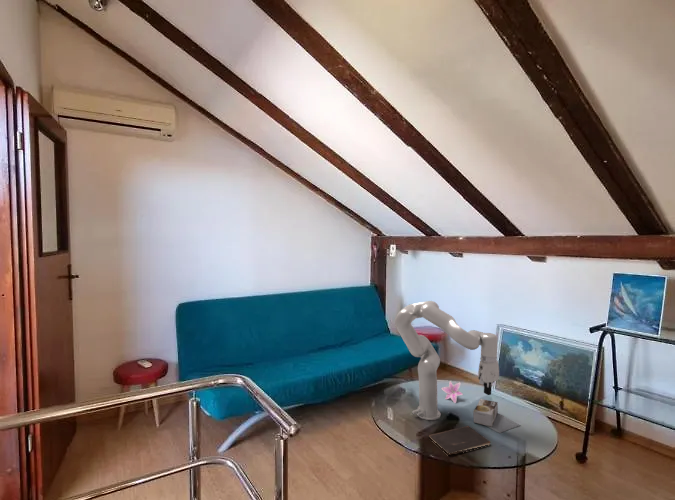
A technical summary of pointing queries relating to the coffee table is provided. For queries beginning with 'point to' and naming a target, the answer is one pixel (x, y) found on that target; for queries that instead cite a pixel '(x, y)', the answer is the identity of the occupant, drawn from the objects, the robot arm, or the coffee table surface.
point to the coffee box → (485, 412)
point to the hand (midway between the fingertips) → (487, 393)
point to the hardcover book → (459, 439)
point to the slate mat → (503, 424)
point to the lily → (452, 391)
